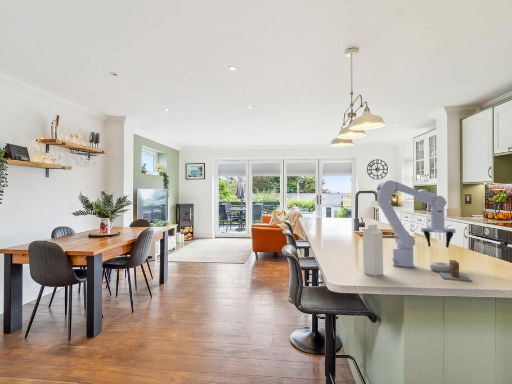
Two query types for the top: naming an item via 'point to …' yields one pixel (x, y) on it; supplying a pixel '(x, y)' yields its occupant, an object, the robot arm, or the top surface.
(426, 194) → the robot arm
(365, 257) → the milk
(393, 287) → the top surface
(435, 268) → the donut
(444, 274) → the mat
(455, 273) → the tall brown wooden block
